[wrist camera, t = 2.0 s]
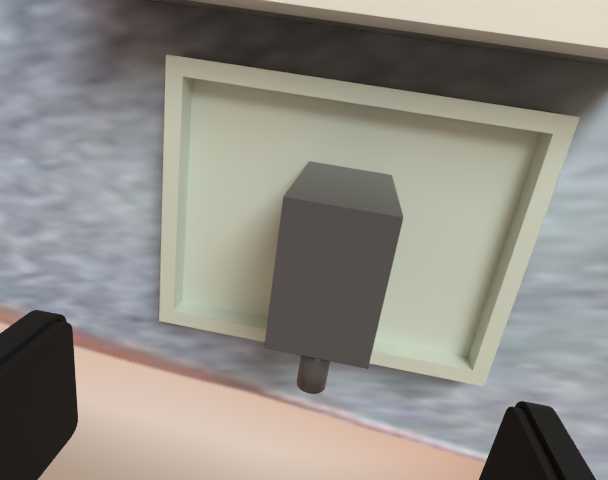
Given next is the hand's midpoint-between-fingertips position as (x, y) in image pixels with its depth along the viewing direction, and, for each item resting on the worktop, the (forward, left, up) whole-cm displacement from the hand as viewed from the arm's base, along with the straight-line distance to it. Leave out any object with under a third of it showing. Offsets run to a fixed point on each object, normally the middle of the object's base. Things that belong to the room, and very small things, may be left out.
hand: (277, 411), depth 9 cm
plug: (-1, +1, -14) cm, 14 cm away
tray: (-1, 0, -14) cm, 14 cm away
